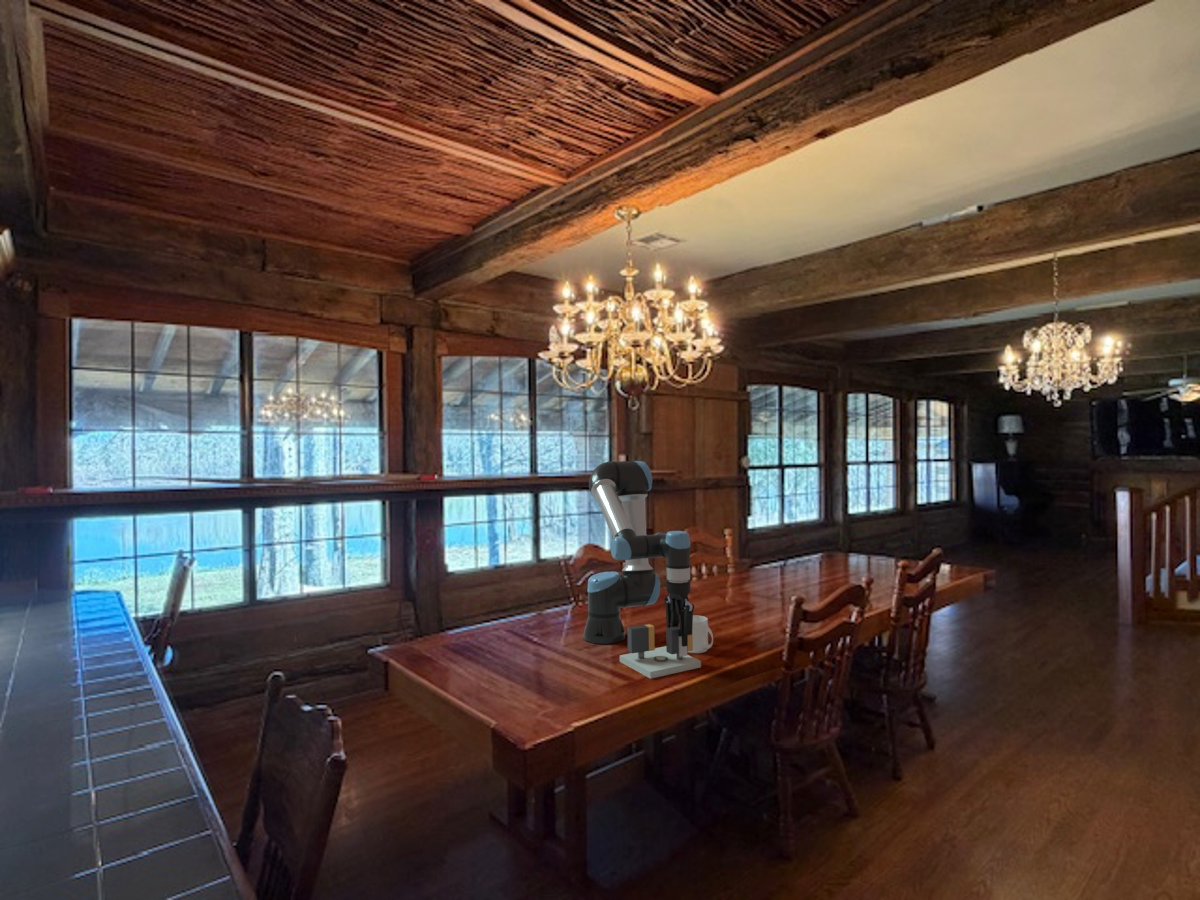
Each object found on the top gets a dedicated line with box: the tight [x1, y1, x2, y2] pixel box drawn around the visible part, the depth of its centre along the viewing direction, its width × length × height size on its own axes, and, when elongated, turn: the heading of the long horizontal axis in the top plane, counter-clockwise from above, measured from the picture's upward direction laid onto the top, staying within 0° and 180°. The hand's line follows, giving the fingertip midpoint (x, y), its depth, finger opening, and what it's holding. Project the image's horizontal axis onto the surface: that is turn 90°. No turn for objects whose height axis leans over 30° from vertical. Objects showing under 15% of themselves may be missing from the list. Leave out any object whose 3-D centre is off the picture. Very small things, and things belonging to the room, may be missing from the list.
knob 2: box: [665, 626, 693, 659], centre depth 202 cm, size 8×3×10 cm, turn 119°
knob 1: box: [626, 623, 656, 659], centre depth 203 cm, size 8×3×10 cm, turn 112°
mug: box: [687, 614, 714, 654], centre depth 216 cm, size 9×12×11 cm
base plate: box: [619, 645, 702, 680], centre depth 203 cm, size 18×19×3 cm
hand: (679, 654), depth 202 cm, fingers closed on knob 2, 3 cm apart
